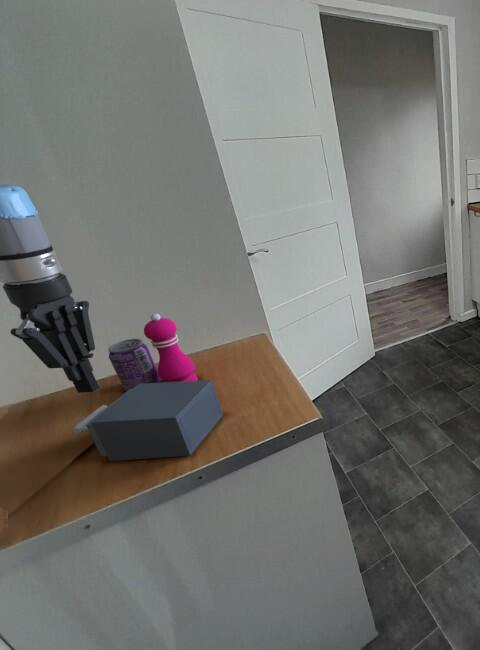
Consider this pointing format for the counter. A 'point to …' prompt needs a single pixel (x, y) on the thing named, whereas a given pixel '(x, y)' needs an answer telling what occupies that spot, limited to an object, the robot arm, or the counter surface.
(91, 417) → the drawer
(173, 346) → the pepper mill
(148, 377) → the beverage can
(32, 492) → the counter surface
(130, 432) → the cabinet
